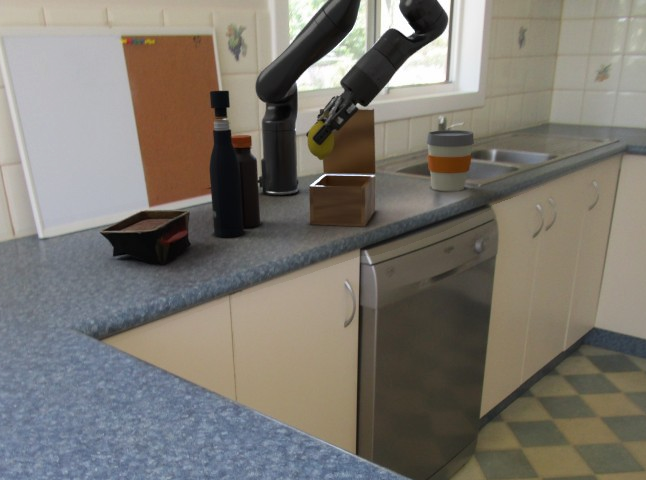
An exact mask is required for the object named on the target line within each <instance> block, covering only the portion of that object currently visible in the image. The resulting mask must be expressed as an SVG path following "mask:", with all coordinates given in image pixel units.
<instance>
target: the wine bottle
mask: <svg viewBox="0 0 646 480" xmlns="http://www.w3.org/2000/svg"><path fill="white" fill-rule="evenodd" d="M209 100H210V109H214V119H215V120H214V121H213V130H212V135H213V137H212V138H213V146H212V150H211V154H210V158H209V181H210V182H209V184H211V187H210V193H211V194H210V195H211V206H212V220H213V230H214V231H213V233H214V236H215V237H217V238H223V239H225V238H226V239H228V238H229V239H230V238H237V237H241V236H242V235H244V233H245V232H244V229H245V228H243V213H242V196H241V180H240V166H239V162H238V158H237V155H236V152H235V149H234V147H233V144H232V137H231V136H232V129H230V127H231V126H230V124H231V123H230V121H229V119H227V118H228V109H229V108H230V107H231V105H230V104H231V103H230V91H229V90H211V91H209Z"/></svg>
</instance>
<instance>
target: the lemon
mask: <svg viewBox="0 0 646 480" xmlns="http://www.w3.org/2000/svg"><path fill="white" fill-rule="evenodd" d="M317 122H318V121H317ZM315 123H316V122H315ZM315 123H314V124H315ZM314 124H313V125H312V126H311V127H310V129H308V131H309V133H308V137H307V147H308V150H309V152H310V153H311V154H312V155H313V156H314V157H316V158H317V159H318V160H319V161H323V159H324V158H325V157H326V156H327V155H329V154H330V153H331V151H332V150H333V147H334V135H333V132H332V131H331V132H332V133H331V134H330V135H329V136H328V137H327V138H326V140H325V141H324V142H323V143H322V144H321V145H318V144H317V143H316V142H315V141H314V140H313V139H312V137H313V136H314V135H315V134H316V132H317V131H318V130H319V129H320V128H321V127H322V126H323V125H325V124H324V123H323V122H322V121H319V122H318V123H316V124H315V125H314ZM325 126H326V125H325Z"/></svg>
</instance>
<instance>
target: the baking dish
mask: <svg viewBox="0 0 646 480" xmlns="http://www.w3.org/2000/svg"><path fill="white" fill-rule="evenodd" d="M190 212H191V211H190V210H188V209H187V210H185V209H146V210H140V211H138V212H135V213H133V214H132V215H130V216H128V217H125V218H123V219H121V220H119V221H117V222H115V223H113V224H111V225H109V226H107V227H105V228H103V229H101V230H100V231H99V234H100V235H101V236H102V237H104V238H105V239H106V240H107V241H108V242H109V243H110V245H111V246H112V247H113V249H112V258H116V257H121V256H122V257H123V256H129V257H132V258H135V259H137V260H140V261H142V262H145V263H147V264H150V265H151V264H152V265H160V266H164V265H166V264H167V263H169V262H171V261H172V260H174V259H175V258H177V257H178V256H179V255H180V254H182V253H183V252H185V250H187V249H188V248H189V247H190V246H191V245H192V244H191V242H190V239H189V224H190V223H189V222H190Z"/></svg>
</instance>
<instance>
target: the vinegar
mask: <svg viewBox="0 0 646 480" xmlns="http://www.w3.org/2000/svg"><path fill="white" fill-rule="evenodd" d="M231 137H232V144H233V147H234V149H235V152H236V155H237V158H238V162H239V166H240V180H241V196H242V213H243V229H250V228H251V229H252V228H256V227H258V226H260V224H261V213H260V212H261V211H260V193H259V183H258V180H259V173H258V172H259V171H258V159H257V157H256V156H255V155H254V154H253V153H252V148H253V147H252V146H253V140H252V135H249V134H236V135H231Z"/></svg>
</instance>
